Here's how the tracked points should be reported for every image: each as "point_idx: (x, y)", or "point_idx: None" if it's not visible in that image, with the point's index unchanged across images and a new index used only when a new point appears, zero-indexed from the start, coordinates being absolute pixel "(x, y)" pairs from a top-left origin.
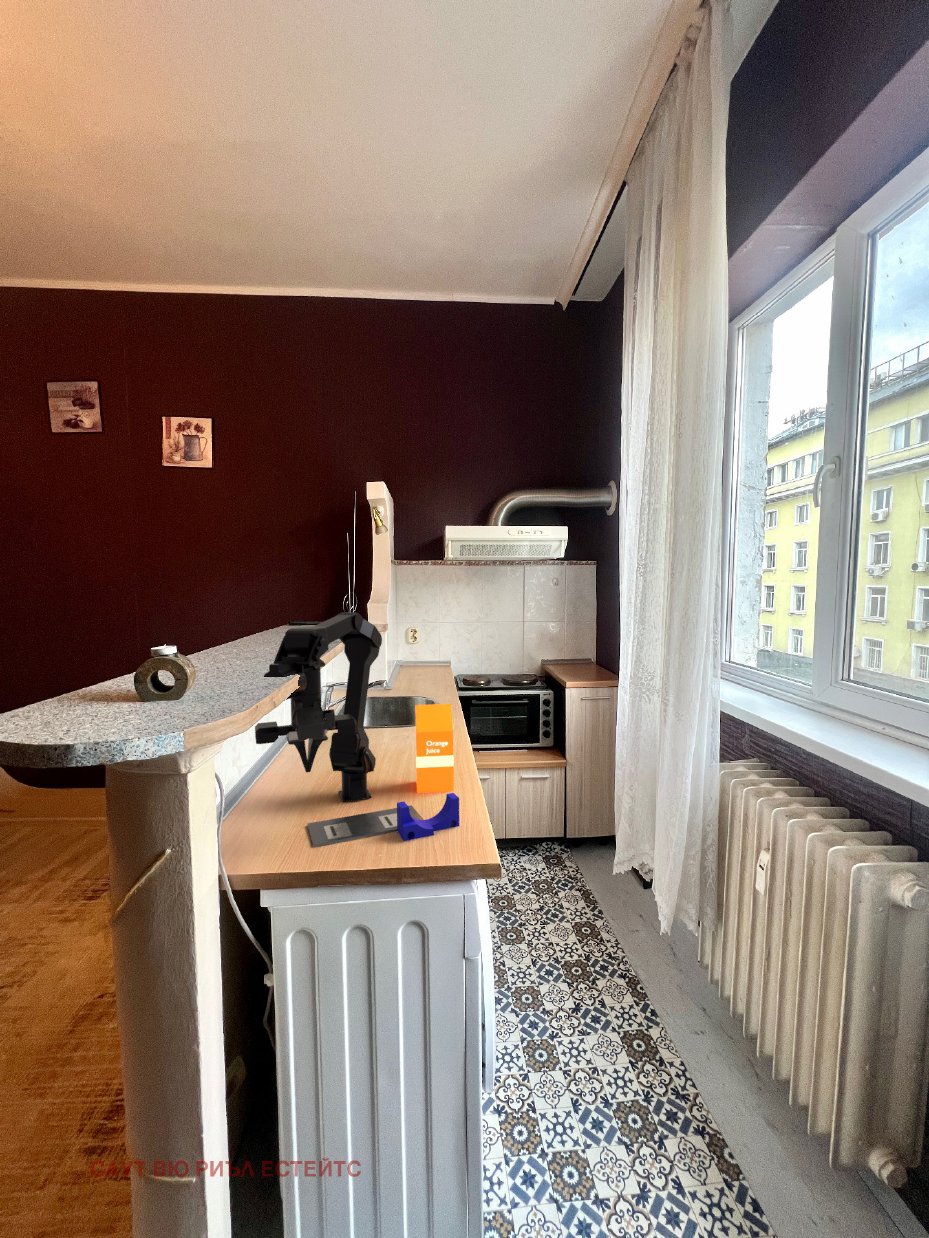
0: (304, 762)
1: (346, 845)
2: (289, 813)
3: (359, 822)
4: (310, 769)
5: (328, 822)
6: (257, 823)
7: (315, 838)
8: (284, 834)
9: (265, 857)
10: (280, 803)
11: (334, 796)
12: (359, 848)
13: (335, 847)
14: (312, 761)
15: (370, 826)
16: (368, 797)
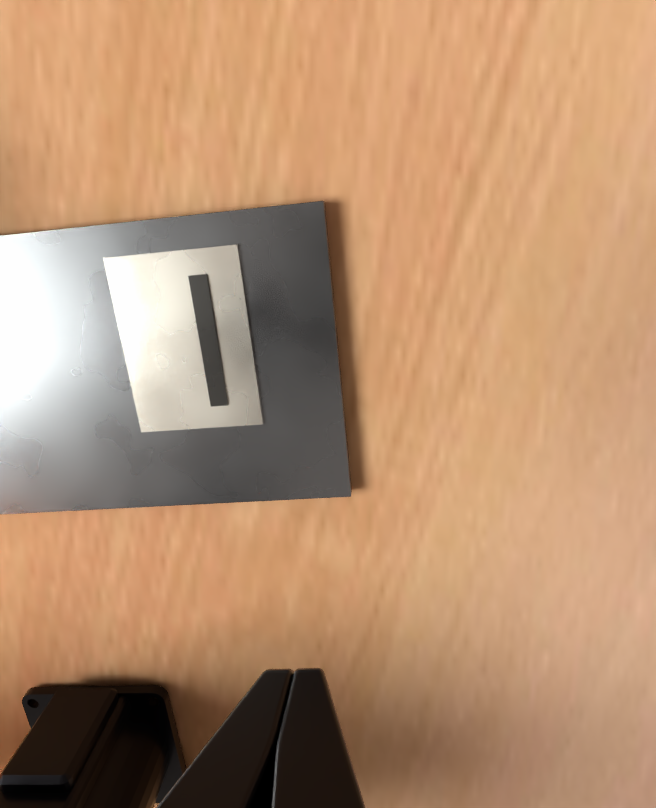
0: (330, 799)
1: (139, 162)
2: (435, 662)
3: (68, 410)
4: (256, 690)
5: (237, 469)
6: (603, 607)
7: (311, 283)
8: (476, 429)
9: (606, 162)
10: (471, 781)
11: None
12: (63, 92)
13: (202, 157)
14: (183, 797)
15: (4, 337)
16: (38, 689)
